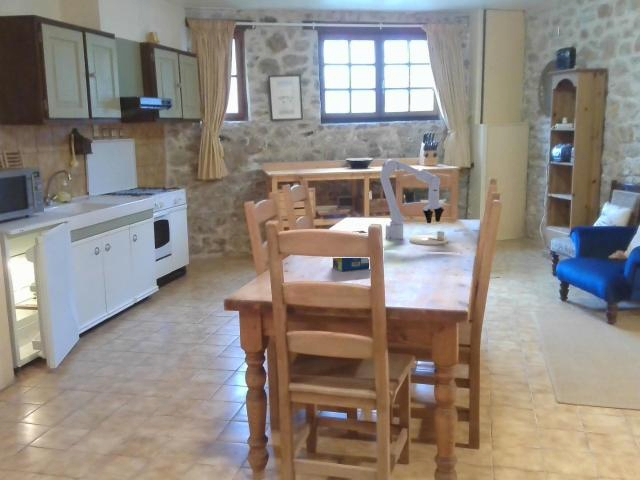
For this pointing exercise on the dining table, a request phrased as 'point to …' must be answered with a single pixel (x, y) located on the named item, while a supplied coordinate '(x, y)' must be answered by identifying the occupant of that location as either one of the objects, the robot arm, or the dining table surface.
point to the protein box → (351, 262)
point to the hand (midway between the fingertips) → (433, 222)
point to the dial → (429, 239)
